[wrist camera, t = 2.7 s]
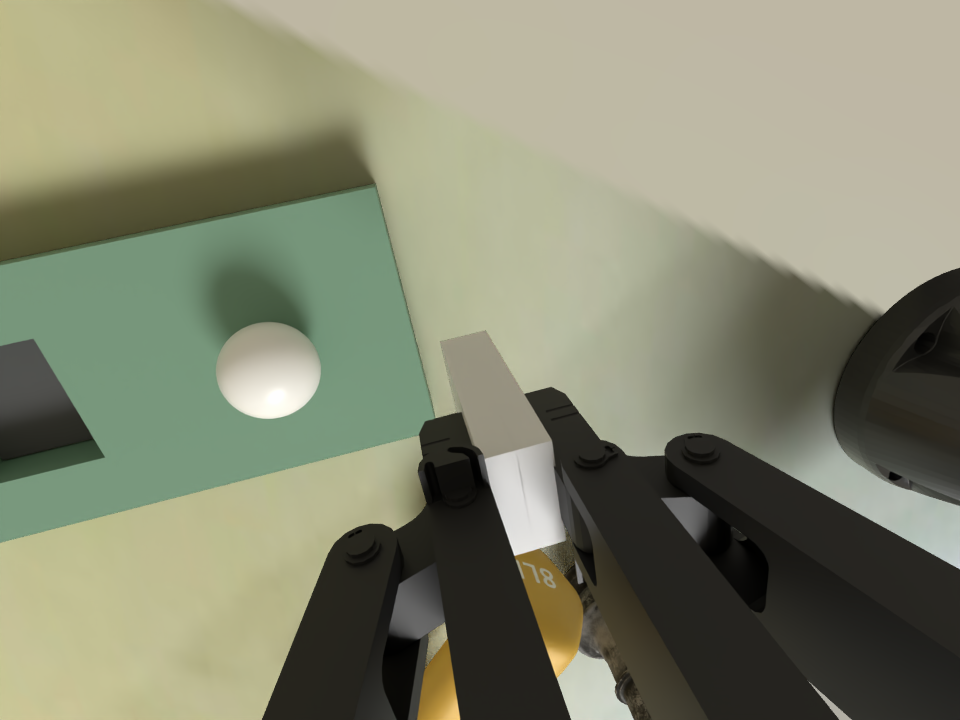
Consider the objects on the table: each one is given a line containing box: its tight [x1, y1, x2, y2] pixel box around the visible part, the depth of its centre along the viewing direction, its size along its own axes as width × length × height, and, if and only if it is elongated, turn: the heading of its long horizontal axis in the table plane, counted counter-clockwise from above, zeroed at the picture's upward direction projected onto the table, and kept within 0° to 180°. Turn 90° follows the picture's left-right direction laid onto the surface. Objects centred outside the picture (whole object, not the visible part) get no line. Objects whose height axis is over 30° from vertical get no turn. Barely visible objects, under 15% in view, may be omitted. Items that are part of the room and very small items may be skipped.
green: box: [0, 183, 435, 543], centre depth 23 cm, size 24×12×2 cm, turn 101°
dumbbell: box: [417, 549, 583, 720], centre depth 31 cm, size 19×9×8 cm, turn 149°
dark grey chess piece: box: [565, 565, 652, 720], centre depth 30 cm, size 6×6×12 cm
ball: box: [216, 322, 321, 419], centre depth 21 cm, size 4×4×4 cm
